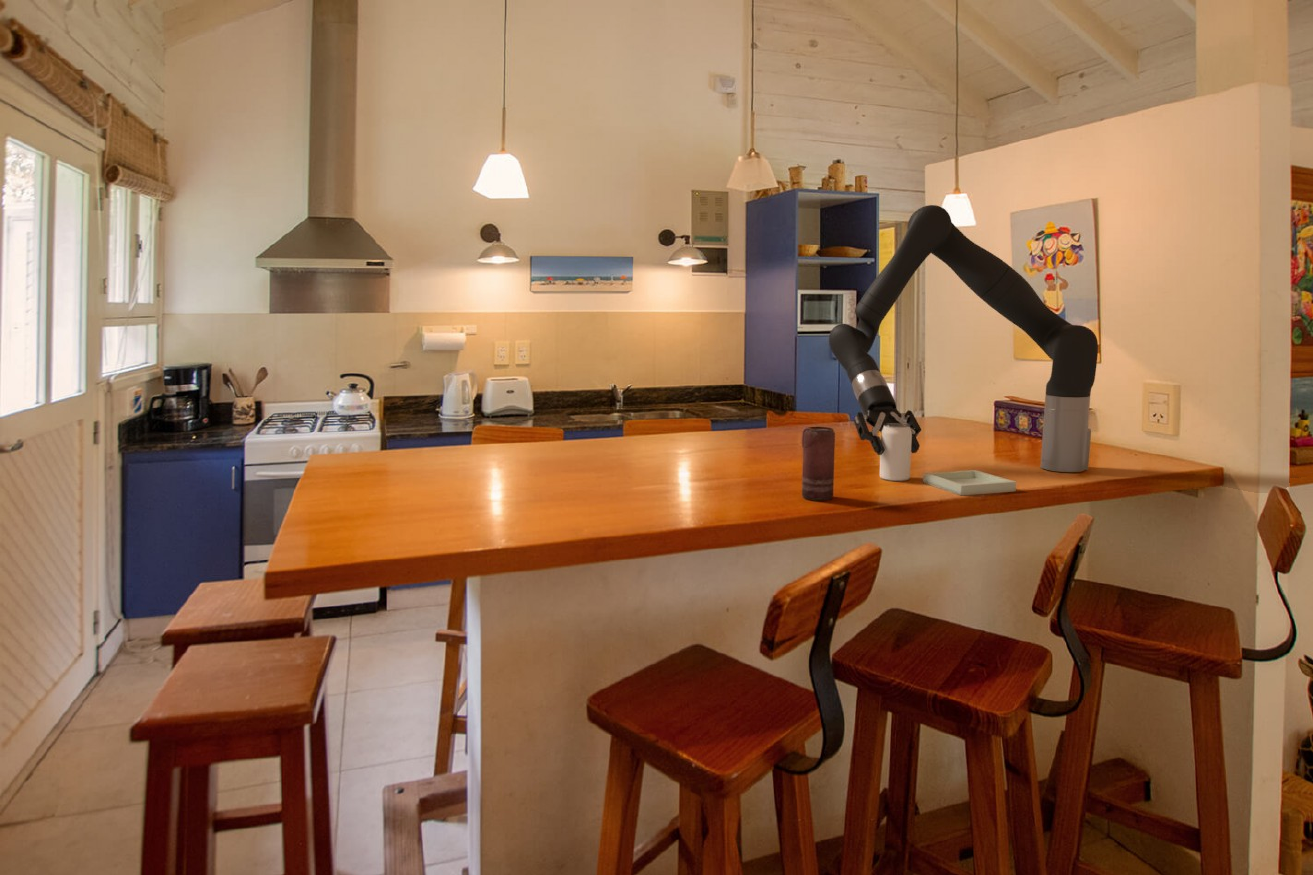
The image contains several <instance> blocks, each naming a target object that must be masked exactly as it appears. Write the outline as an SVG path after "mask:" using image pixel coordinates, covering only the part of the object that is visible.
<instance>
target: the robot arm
mask: <svg viewBox="0 0 1313 875" xmlns="http://www.w3.org/2000/svg"><path fill="white" fill-rule="evenodd" d="M930 254H931V255H933V256H935V257H936V258H937V259H939V260H941V262H943V263H944V264H946V265H947V266H948V267H949V268H950V270H951V271H953V273H955V274H956V276H957V277H958V279H960V280H961V282H963V283H964V284H965V285H966V286H967V287H968V288H969V289H970V290H971V291H972V292H973V293H974V294H975V295H976V296H977V297H978V298H979V299H981V300H982V301H983V302H985V304H987V305H988V306H989V307H991V308H992V309H993V310H995V312H997V313H999V314H1000V315H1001V316H1002V317H1003V318H1005V319H1006V320H1008V321H1009V322H1011V323H1012V324H1013V325H1015V326H1016V327H1018V328H1020V329H1021V330H1022V331H1023V332H1024V333H1026V335H1027V336H1029V338H1030V339H1032V341H1034V342H1035V343H1036V345H1037V346H1038V347H1039V348H1040V349H1041V350H1042V351H1043V353H1045V354H1046V355H1047V357H1048V358H1050V360H1052V366H1051V367H1052V368H1051V374H1050V377H1049V380H1048V381H1047V383H1046V385H1045V398H1044V410H1043V411H1044V412H1043V426H1042V439H1041V440H1042V441H1041V442H1042V443H1041V456H1040V457H1041V458H1040V468H1041V469H1044V470H1047V471H1050V472H1057V473H1058V472H1061V473H1081V472H1085V471H1088V470H1089V467H1090V466H1089V462H1090V451H1091V438H1092V430H1091V428H1089V418H1090V405H1091V393H1092V391H1091V390H1092V388H1093V386H1094V383H1095V381H1096V380H1095V379H1096V375H1097V374H1096V373H1097V372H1096V371H1097V366H1098V356H1099V355H1098V354H1099V344H1098V339H1097V338H1098V337H1097V335H1096V333H1095V332H1094V331H1093V330H1092V329H1090V328H1089V327H1087V326H1084V325H1080V324H1079V325H1077V324H1072V323H1070V322H1068V321H1067V320H1065V319H1064V318H1062V317H1061V316H1060V315H1059V314H1057V313H1056V312H1054V311H1053V310H1051V308H1049V306H1047V305H1046V304H1045V303H1044V301H1043V300H1042V299H1041V298H1040V296H1039V295H1038V293H1037V292H1036V291H1035V289H1034V288H1033V287H1032V285H1031V284H1030V283H1029V282H1028V281H1027V280H1026V279H1025V278H1024V277H1023V276H1022V274H1021V273H1019V272H1017V271H1016V270H1015V269H1014V268H1013V267H1012V266H1010V265H1009V264H1008V263H1007V262H1006V261H1003V259H1001V258H1000V257H998V256H997V255H996V254H994V253H992V252H990V251H989V250H987V249H985V248H983V247H981V246H980V245H978V244H976V243H975V242H974V241H972V240H971V239H970V238H968V237H967V236H966V235H965V234H964V233H963V232H962V231H961V230H960V229H959V228H958V227H957V226H956V225H955V224H954V223H953V222H952V219H951V215H950V213H949V212H948V210H946V208H943V207H941V206H940V205H936V204H928V205H924V206H922V207H920V208H918V209H916V210H915V211H914V212H913V213H912V214H911V215H910V217H909V220H908V222H907V230H906V233H905V235H904V237H903V239H902V241H901V243H900V244H899V246H898V248H897V249H896V251H895V253H894V254H893V256H892V257H891V259H890V260H889V261H888V263H887V264H886V265H885V267H884V268H883V269H882V270H881V271H880V273H878V275H877V277H875V279H874V280H873V282H871V284H870V285H869V287H868V288H867V290H866V291H865V293H864V294H863V296H861V299H860V300H859V302H858V303H857V305H856V306H855V309H854V313H855V315H856V316H857V318H858V323H857V325H856V327H854V326H853V325H850V324H848V323H840V324H837V325H835V326H833V327H832V329H831V331H830V332H829V335H828V336H829V337H828V345H829V347H830V350H831V351H832V353H833V355H834V357H835V358H836V360H837V361H838V363H839V364H840V366H841V367H843V369H844V370H845V372H846V373H847V377H848V379H849V381H850V384H851V387H852V390H853V393H854V396H855V398H856V400H857V403H858V405H859V407H860V410H861V412H860V411H859V412H857V413H856V415H855V417H854V419H853V423H854V426H855V428H856V431H857V434H858V437H859V439H860V440H861V441H865V440H866V441H868V442H869V443H870V444H871V448H872V449H873V451H874V453H876V454H877V455H878V456H880V455H882V454H883V452H884V450H885V449H884V446H883V444H882V442H881V436H879V432H880V433H881V431H882V429H883V427H884V424H887V423H901V424H908V425H910V429H911V432H912V442H911V454H916V453H917V452H918V451H919V449H920V442H919V441H918V439H917V437H918V435H919V434H920V433H921V431H922V428H921V426H920V424H919V422H918V421H917V418H916V417H915V415H914V413H913V411H912V410H909V409H908V410H907V411H906V412H902V413H901V412H900V411H899V410H898V409H897V404H896V400H895V398H894V396H893V394H892V392H891V391H892V390H890V388H889V385H888V383H887V380H886V379H885V378H884V376H883V375H882V373H881V370H880V368H879V367H878V364H877V362H876V360H875V359H874V358H873V356H872V355H870V354H869V352H870V351H871V349H872V348H873V345H874V342H875V340H876V338H877V335H878V332H879V329H880V326H881V324H882V322H883V320H884V319H885V317H886V316H887V315H888V313H889V312H890V310H891V309H892V308H893V306H894V305H895V303H896V301H897V300H898V298H899V297H900V295H901V294H902V293H903V290H904V289H905V287H906V286H907V285H908V283H909V281H910V280H911V279H912V278H913V275H914V274H915V273H916V271H917V270H918V269H919V267H920V266H921V265H922V264H923V263H924V261H925V260H926V259H927V258H928V257H929V256H930ZM867 424H869V425H870V426H871V428H870V430H869V428H868V425H867Z"/></svg>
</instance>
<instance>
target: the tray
mask: <svg viewBox="0 0 1313 875" xmlns="http://www.w3.org/2000/svg"><path fill="white" fill-rule="evenodd" d="M923 482H924V483H923ZM922 483H923V484H926V485H928V486H932V487H935V488H938V489H940V490H943V491H947V492H950V493H952V494H956V495H958V496H972V495H986V494H987V495H988V494H999V493H1009V492H1016V491H1017V490H1016V489H1017V481H1015V480H1012V479H1008V478H1004V477H1001V476H997V475H993V474H992V473H991V474H990V473H987V472H984V471H980V470H975V469H972V470H956V471H955V470H954V471H943V472H942V471H939V472H928V473H925V472H924V473H923V474H922Z"/></svg>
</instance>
